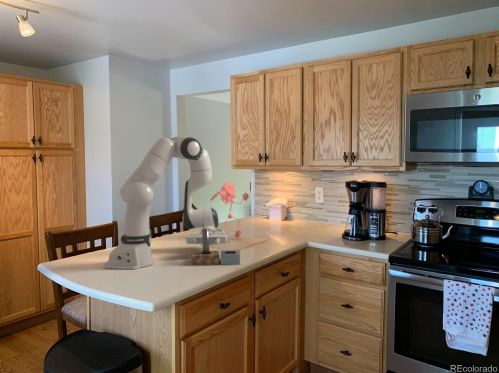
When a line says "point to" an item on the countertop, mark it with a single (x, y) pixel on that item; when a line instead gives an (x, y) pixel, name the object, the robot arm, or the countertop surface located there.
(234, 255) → the socket block
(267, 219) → the countertop surface
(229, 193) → the figurine
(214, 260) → the wooden square hole block
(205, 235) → the steel axle
